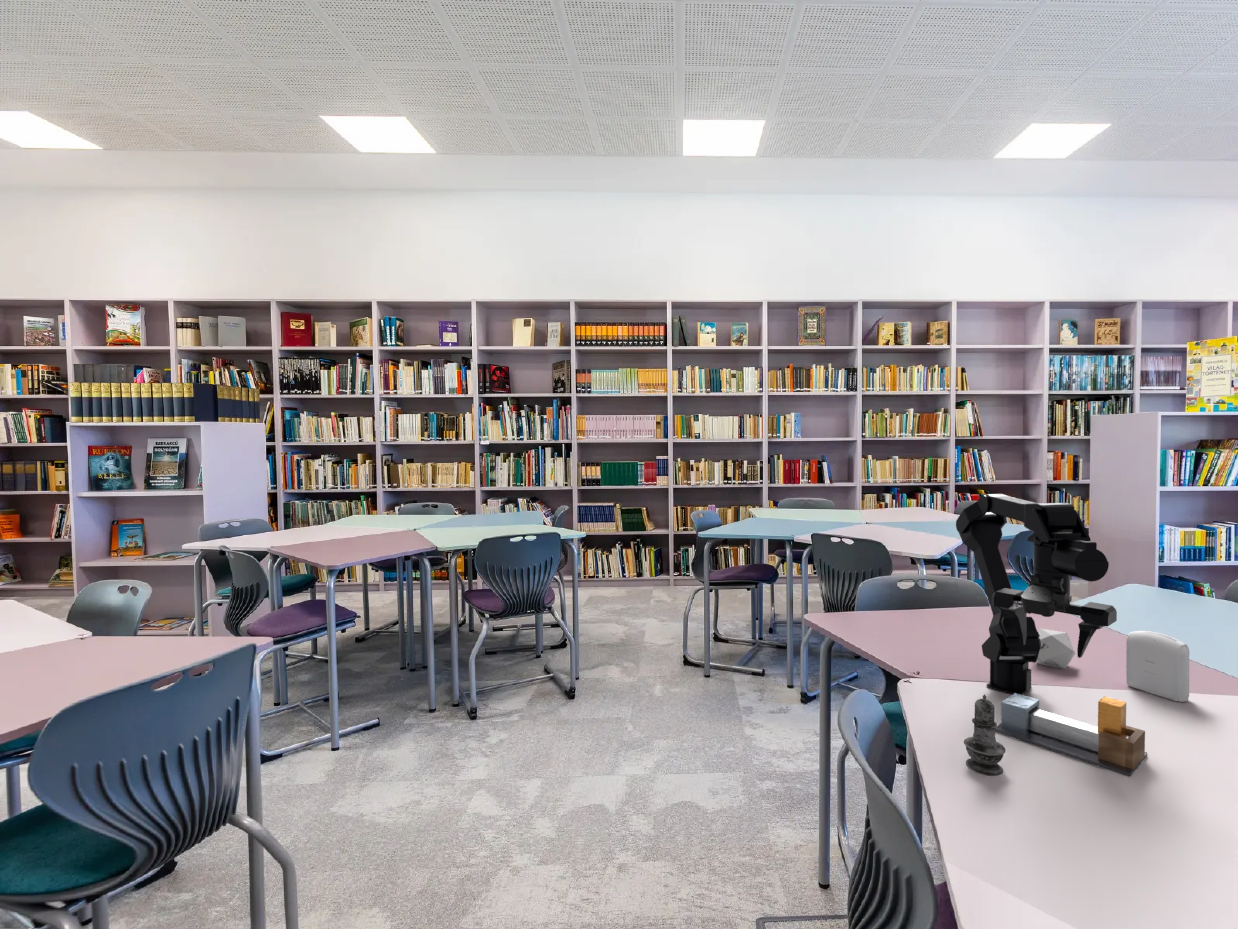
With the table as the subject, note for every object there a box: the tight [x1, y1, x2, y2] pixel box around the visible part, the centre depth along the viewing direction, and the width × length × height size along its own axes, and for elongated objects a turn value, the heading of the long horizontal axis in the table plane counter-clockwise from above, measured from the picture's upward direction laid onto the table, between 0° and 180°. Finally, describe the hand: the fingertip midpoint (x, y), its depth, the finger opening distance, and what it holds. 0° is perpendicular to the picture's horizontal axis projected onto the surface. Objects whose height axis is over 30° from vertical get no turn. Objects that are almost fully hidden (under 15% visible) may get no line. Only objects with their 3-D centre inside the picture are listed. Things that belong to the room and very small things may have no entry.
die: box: [1036, 628, 1076, 670], centre depth 143 cm, size 8×9×10 cm
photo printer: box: [1125, 630, 1190, 703], centre depth 127 cm, size 10×4×12 cm, turn 20°
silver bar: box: [1028, 696, 1130, 752], centre depth 107 cm, size 17×3×8 cm, turn 38°
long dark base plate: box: [995, 693, 1148, 778], centre depth 107 cm, size 20×10×5 cm, turn 38°
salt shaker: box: [963, 693, 1007, 777], centre depth 100 cm, size 6×6×12 cm
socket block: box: [1098, 725, 1146, 769], centre depth 101 cm, size 4×7×4 cm
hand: (1050, 650), depth 117 cm, fingers open, 9 cm apart
